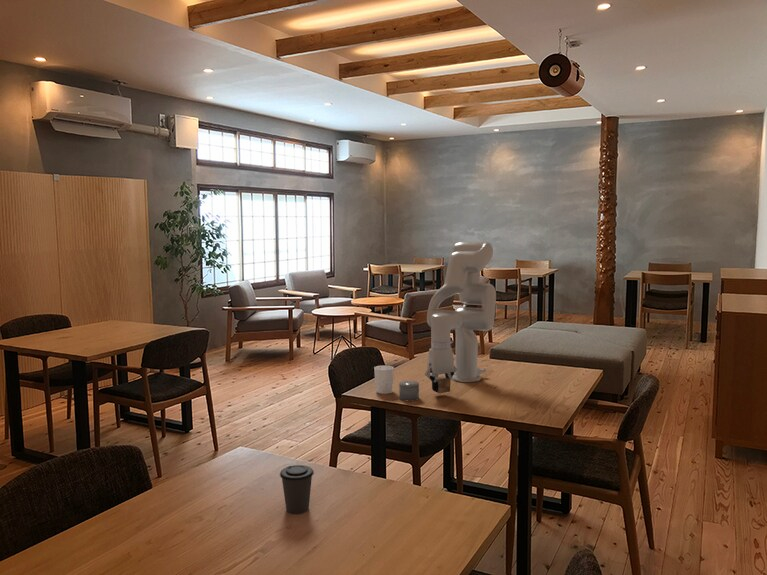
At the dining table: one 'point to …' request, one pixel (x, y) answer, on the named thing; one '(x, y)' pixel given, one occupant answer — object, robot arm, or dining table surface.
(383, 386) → the white cup
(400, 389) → the stoneware pot
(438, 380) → the walnut cube
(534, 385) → the dining table surface
